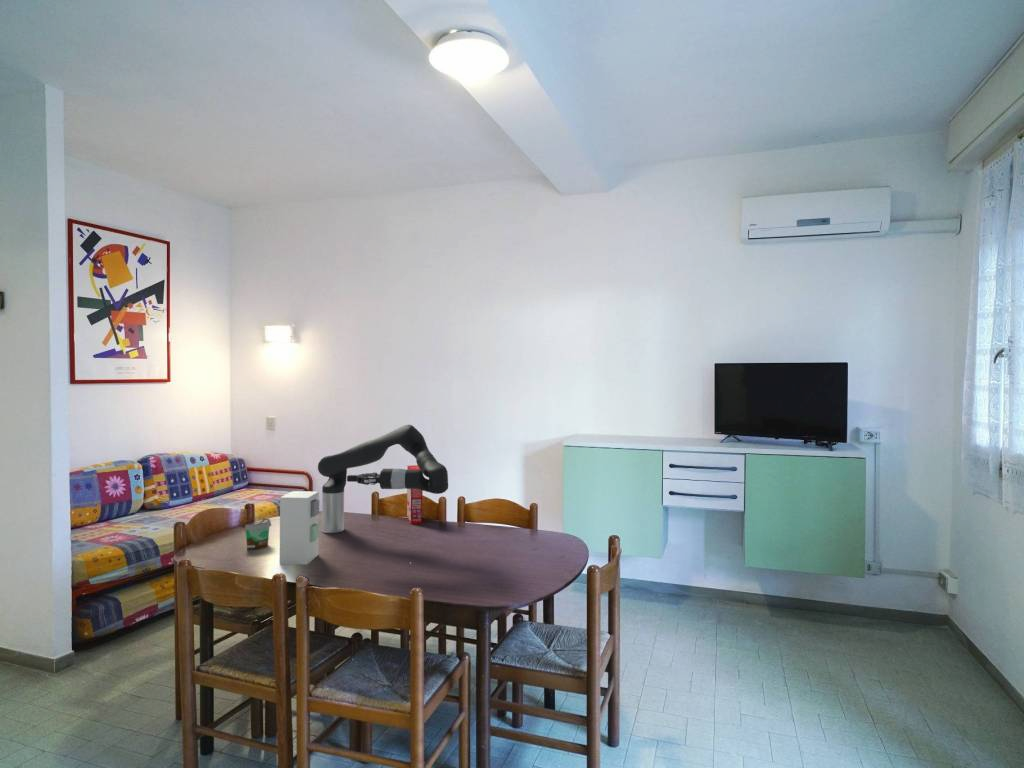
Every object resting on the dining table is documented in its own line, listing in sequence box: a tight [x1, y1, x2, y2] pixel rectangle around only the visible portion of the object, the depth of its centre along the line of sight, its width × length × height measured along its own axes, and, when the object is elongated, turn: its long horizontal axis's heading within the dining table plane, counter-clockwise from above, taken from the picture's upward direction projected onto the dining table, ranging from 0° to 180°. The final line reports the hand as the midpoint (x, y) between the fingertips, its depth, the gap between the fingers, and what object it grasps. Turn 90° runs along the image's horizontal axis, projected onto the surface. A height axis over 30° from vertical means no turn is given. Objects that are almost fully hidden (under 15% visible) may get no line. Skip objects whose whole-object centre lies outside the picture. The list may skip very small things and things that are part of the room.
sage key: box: [310, 523, 320, 541], centre depth 224 cm, size 5×6×5 cm
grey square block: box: [311, 499, 320, 517], centre depth 224 cm, size 5×6×5 cm
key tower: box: [279, 490, 320, 565], centre depth 225 cm, size 12×10×24 cm
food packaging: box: [406, 464, 424, 525], centre depth 289 cm, size 15×5×25 cm, turn 17°
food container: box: [244, 517, 272, 551], centre depth 241 cm, size 12×6×10 cm, turn 168°
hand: (347, 478), depth 225 cm, fingers closed
